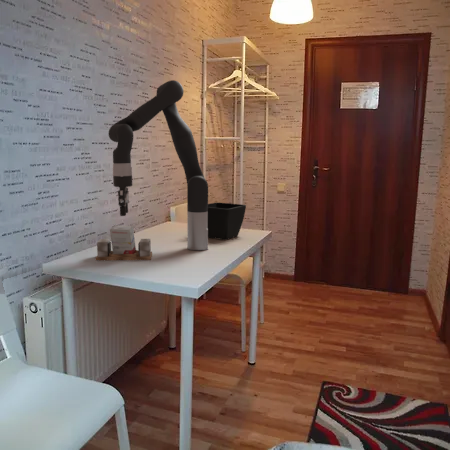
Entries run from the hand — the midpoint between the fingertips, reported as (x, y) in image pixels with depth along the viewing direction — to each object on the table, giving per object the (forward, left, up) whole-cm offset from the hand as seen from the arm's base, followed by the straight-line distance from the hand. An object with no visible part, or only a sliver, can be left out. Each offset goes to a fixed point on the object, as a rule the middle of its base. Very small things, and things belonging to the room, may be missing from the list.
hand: (124, 214), depth 182 cm
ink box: (0, -1, -17) cm, 17 cm away
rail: (0, 0, -18) cm, 18 cm away
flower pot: (-45, -44, -19) cm, 66 cm away
